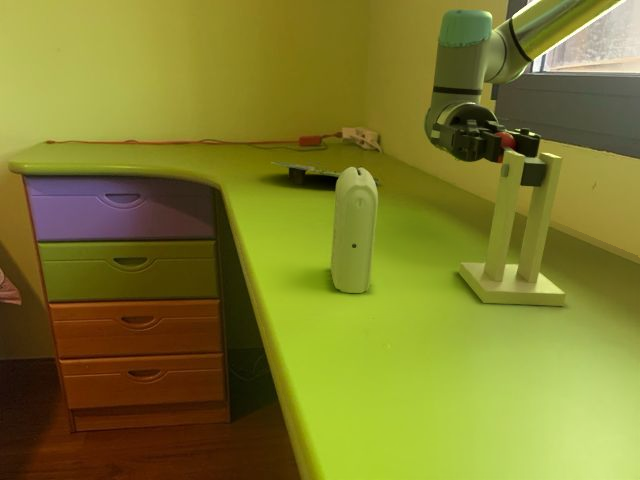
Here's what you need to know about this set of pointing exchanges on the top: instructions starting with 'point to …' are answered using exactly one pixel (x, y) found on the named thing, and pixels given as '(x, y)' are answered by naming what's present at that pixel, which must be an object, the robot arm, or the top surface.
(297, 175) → the city model
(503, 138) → the switch lever
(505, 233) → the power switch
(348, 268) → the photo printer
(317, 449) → the top surface
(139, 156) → the top surface
